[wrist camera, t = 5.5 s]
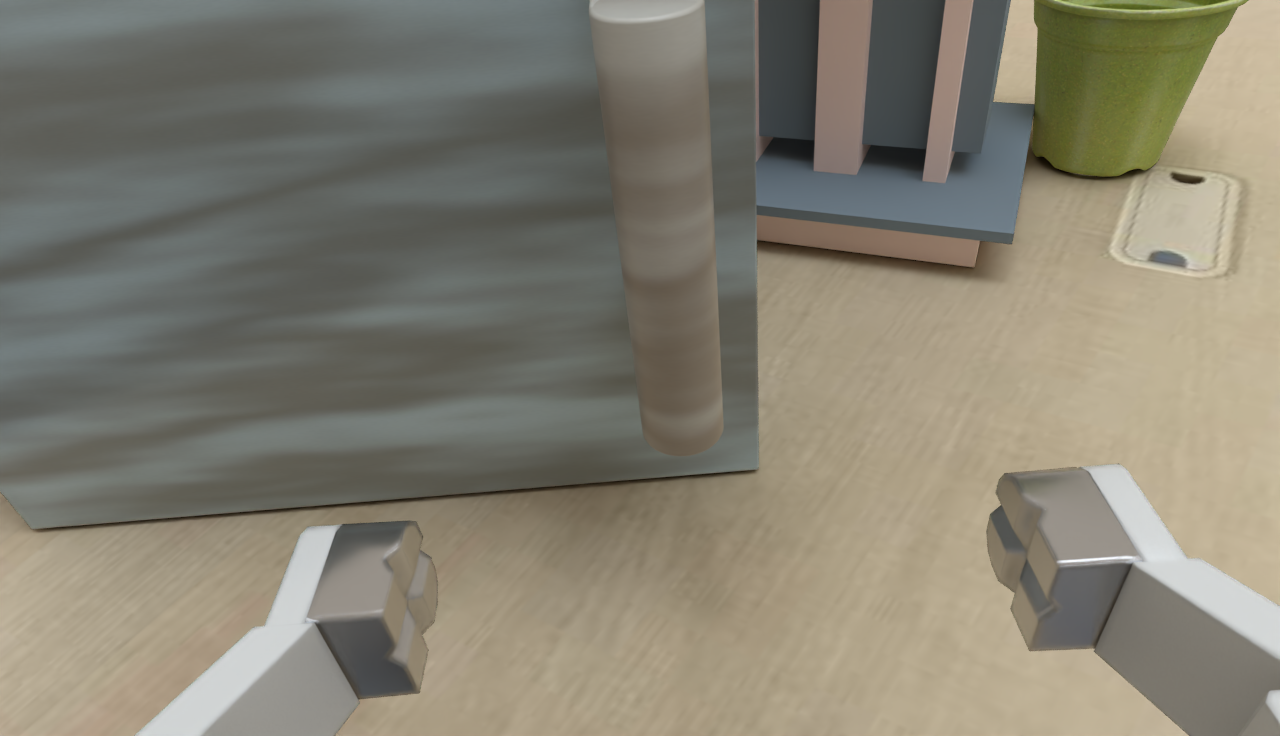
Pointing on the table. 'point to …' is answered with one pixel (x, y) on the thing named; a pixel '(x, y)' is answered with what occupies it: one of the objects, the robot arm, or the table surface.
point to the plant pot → (1117, 77)
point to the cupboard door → (371, 250)
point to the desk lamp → (886, 127)
